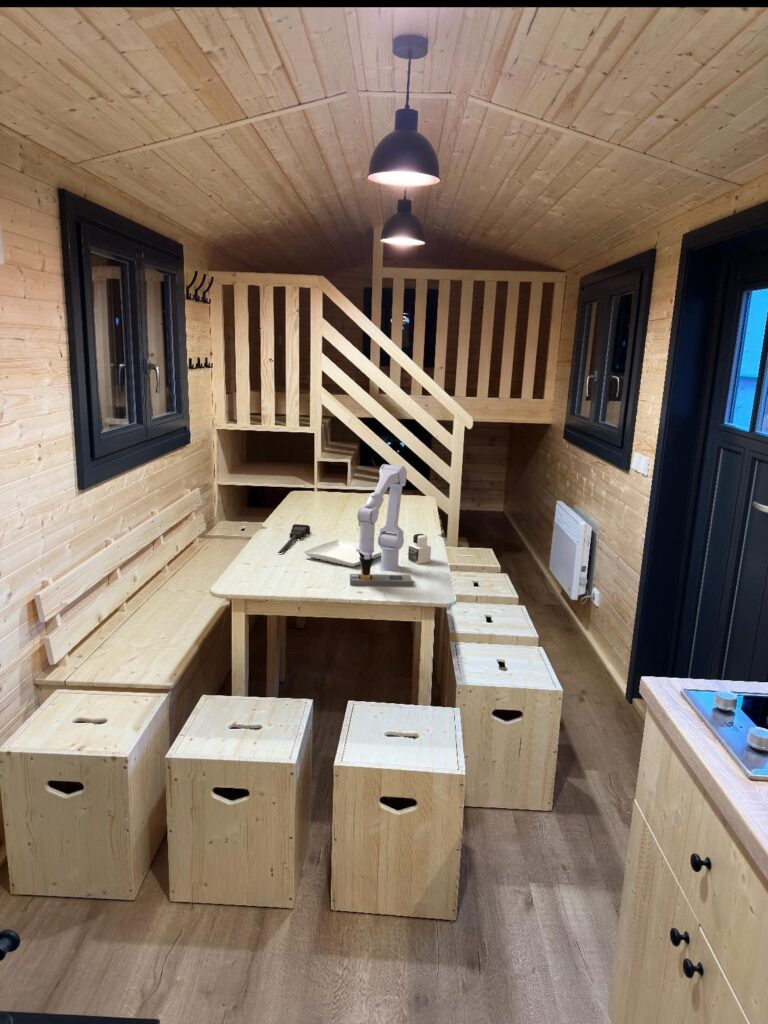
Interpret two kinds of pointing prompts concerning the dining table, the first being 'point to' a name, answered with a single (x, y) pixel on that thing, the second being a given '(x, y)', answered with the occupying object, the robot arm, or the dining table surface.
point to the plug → (366, 577)
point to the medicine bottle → (419, 550)
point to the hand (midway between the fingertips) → (365, 571)
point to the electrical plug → (296, 534)
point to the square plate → (340, 552)
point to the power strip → (381, 580)
